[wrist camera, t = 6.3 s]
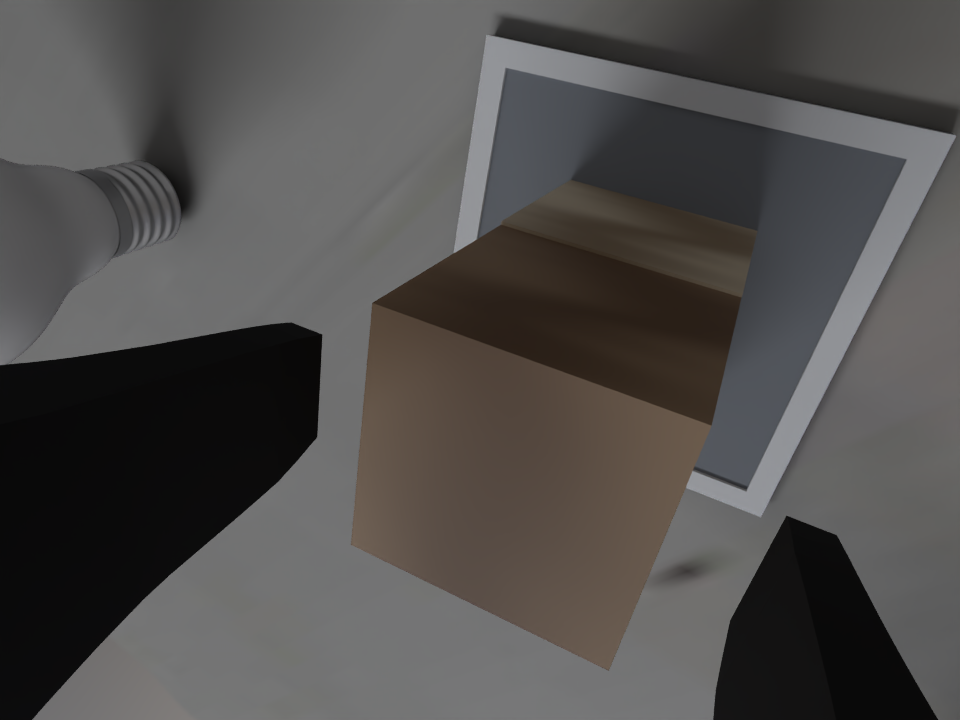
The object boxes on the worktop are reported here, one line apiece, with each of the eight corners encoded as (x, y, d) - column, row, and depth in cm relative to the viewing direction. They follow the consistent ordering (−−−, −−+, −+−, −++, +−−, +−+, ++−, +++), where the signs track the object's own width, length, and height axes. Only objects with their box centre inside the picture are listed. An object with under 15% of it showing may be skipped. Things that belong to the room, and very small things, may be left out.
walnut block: (741, 297, 11) (711, 426, 7) (662, 496, 13) (608, 671, 10) (501, 224, 12) (372, 303, 9) (465, 417, 15) (351, 544, 11)
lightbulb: (206, 85, 20) (-300, 122, 11) (261, 287, 22) (-113, 456, 13) (72, 110, 22) (-423, 156, 13) (134, 287, 25) (-250, 428, 16)
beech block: (757, 230, 15) (742, 293, 11) (693, 394, 17) (663, 493, 13) (570, 179, 16) (501, 220, 12) (533, 338, 18) (465, 414, 15)
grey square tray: (952, 133, 13) (956, 135, 13) (761, 508, 18) (760, 517, 17) (493, 34, 16) (486, 35, 15) (438, 382, 21) (433, 388, 20)
